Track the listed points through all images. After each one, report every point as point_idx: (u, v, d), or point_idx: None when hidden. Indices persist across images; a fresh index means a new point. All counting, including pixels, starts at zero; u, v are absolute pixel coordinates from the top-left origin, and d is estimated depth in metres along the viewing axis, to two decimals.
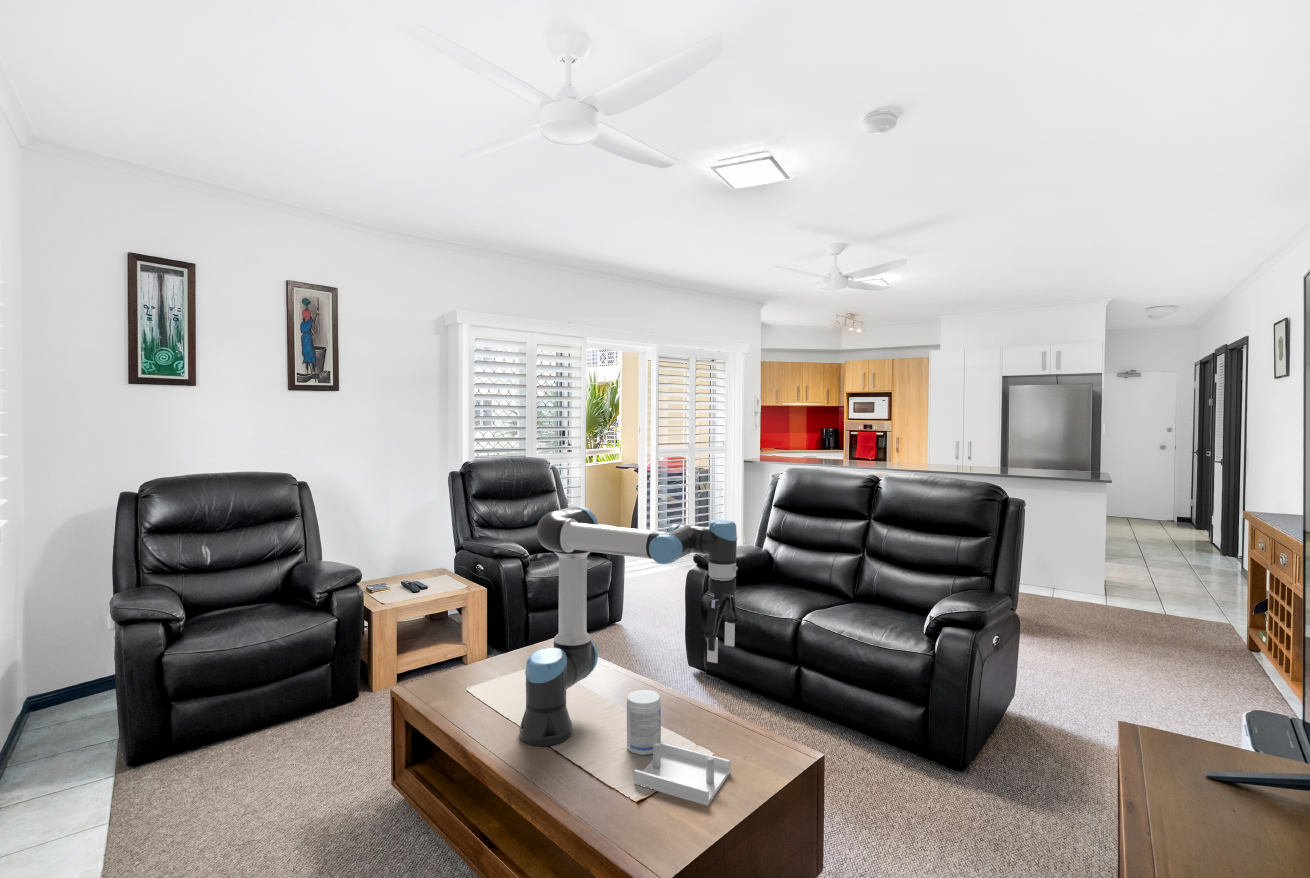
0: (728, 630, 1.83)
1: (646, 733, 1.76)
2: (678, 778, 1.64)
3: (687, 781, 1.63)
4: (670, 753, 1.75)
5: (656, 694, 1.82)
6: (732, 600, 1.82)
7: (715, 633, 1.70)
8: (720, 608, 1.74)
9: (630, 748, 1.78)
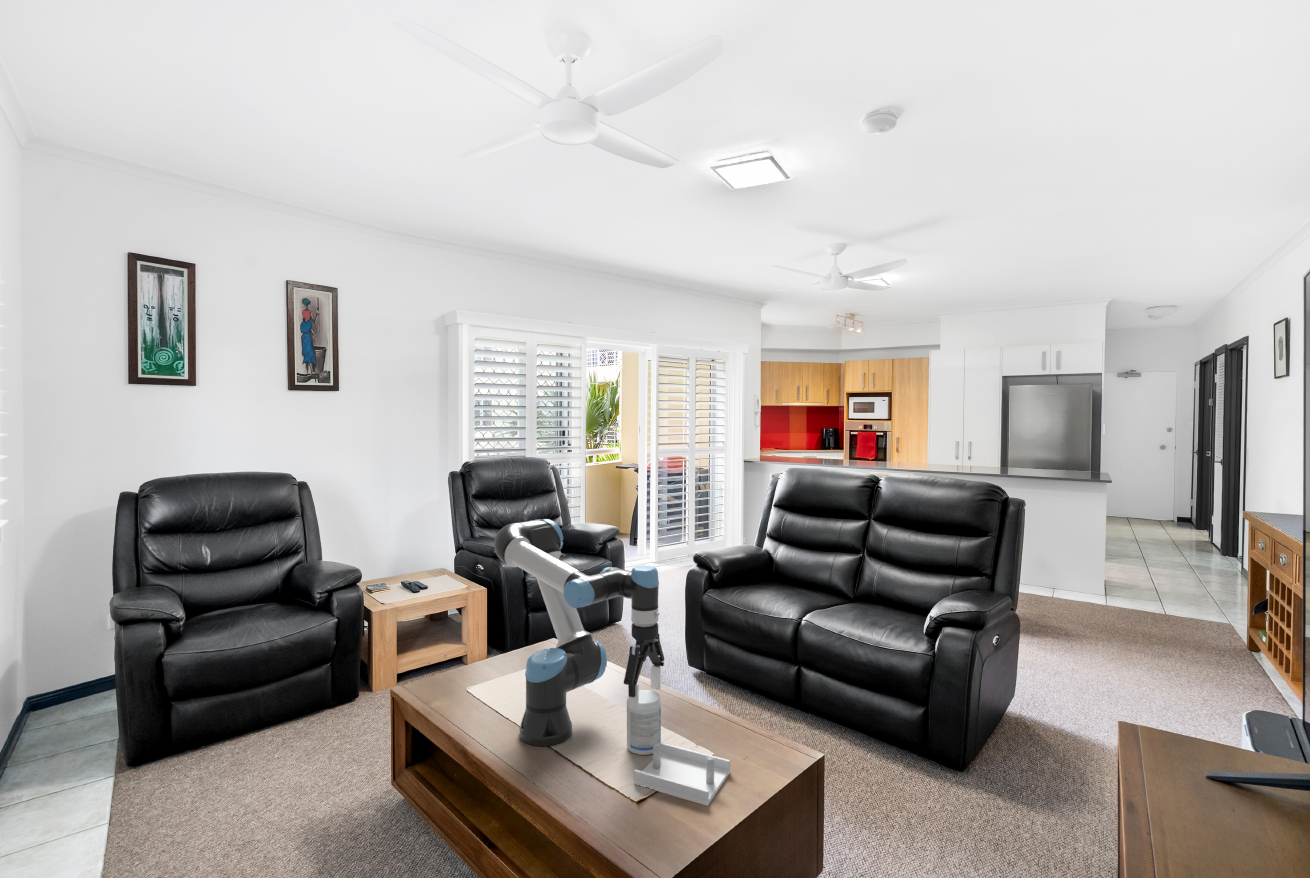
0: (654, 673, 1.86)
1: (646, 733, 1.76)
2: (678, 778, 1.64)
3: (687, 781, 1.63)
4: (670, 753, 1.75)
5: (656, 694, 1.82)
6: (657, 644, 1.85)
7: (635, 679, 1.73)
8: (642, 654, 1.77)
9: (630, 748, 1.78)
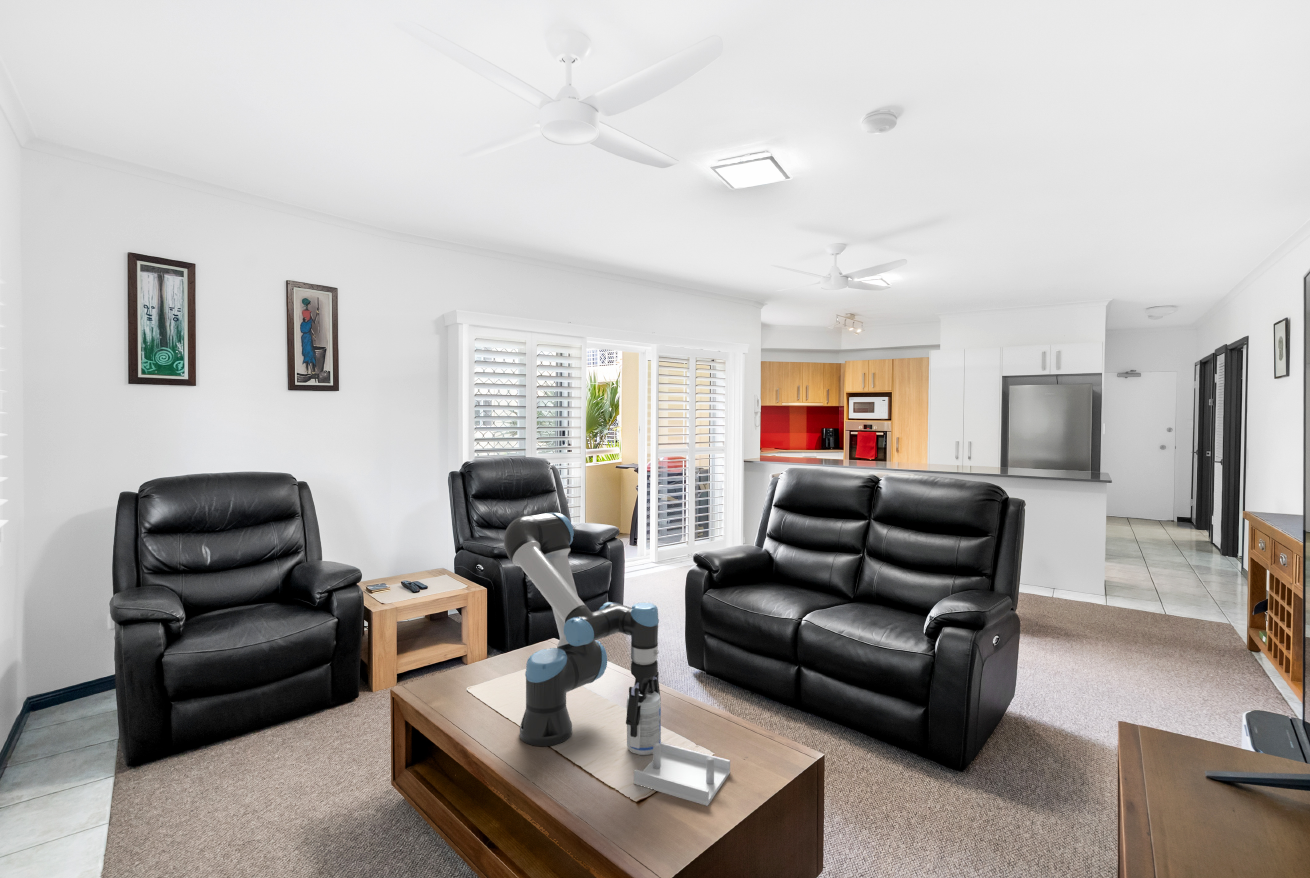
0: None
1: (646, 733, 1.76)
2: (678, 778, 1.64)
3: (687, 781, 1.63)
4: (670, 753, 1.75)
5: (656, 694, 1.82)
6: (655, 683, 1.85)
7: (637, 720, 1.75)
8: (642, 692, 1.78)
9: (630, 748, 1.78)
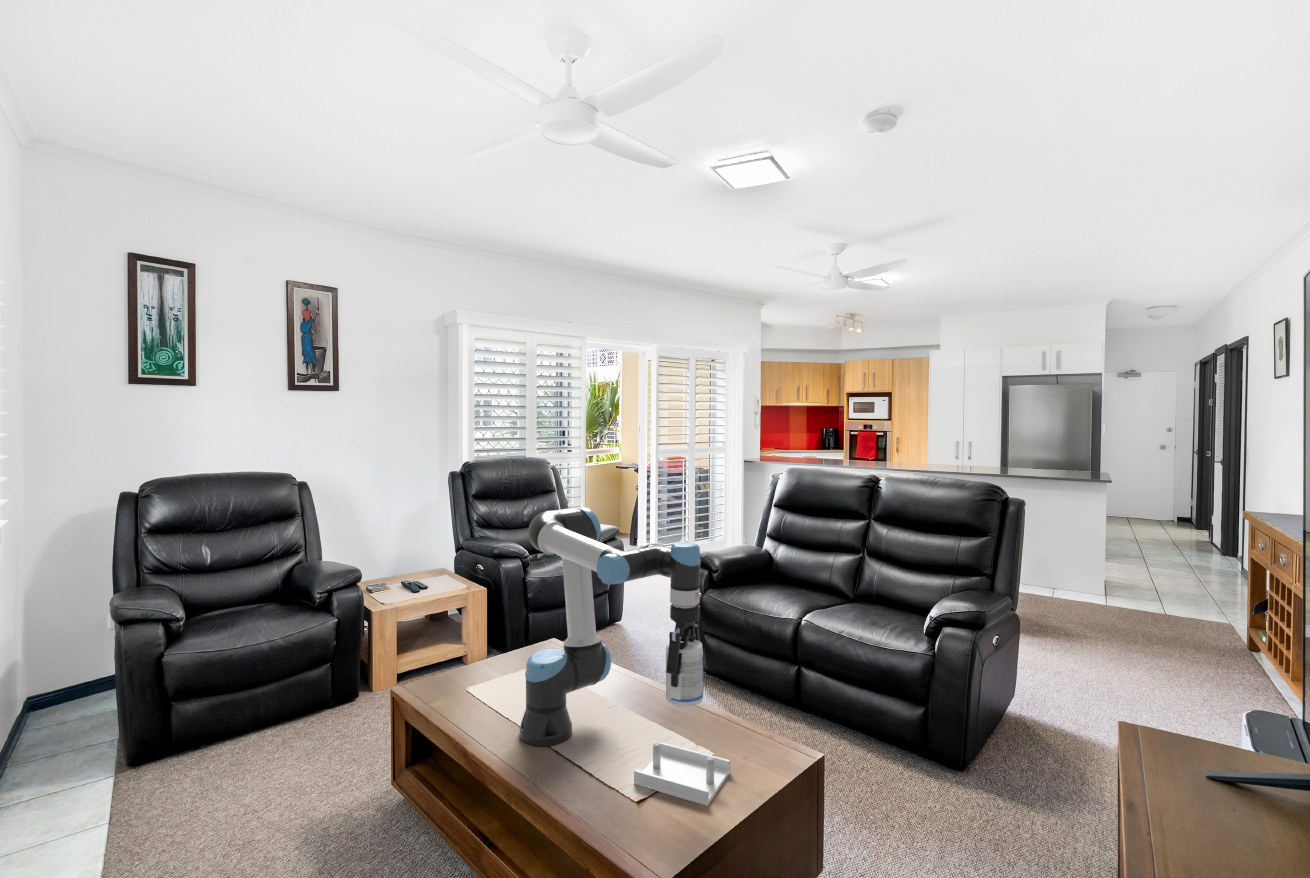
0: None
1: (688, 683, 1.60)
2: (678, 778, 1.64)
3: (687, 781, 1.63)
4: (670, 753, 1.75)
5: (698, 642, 1.66)
6: (696, 631, 1.69)
7: (678, 668, 1.59)
8: (682, 639, 1.62)
9: (670, 700, 1.62)
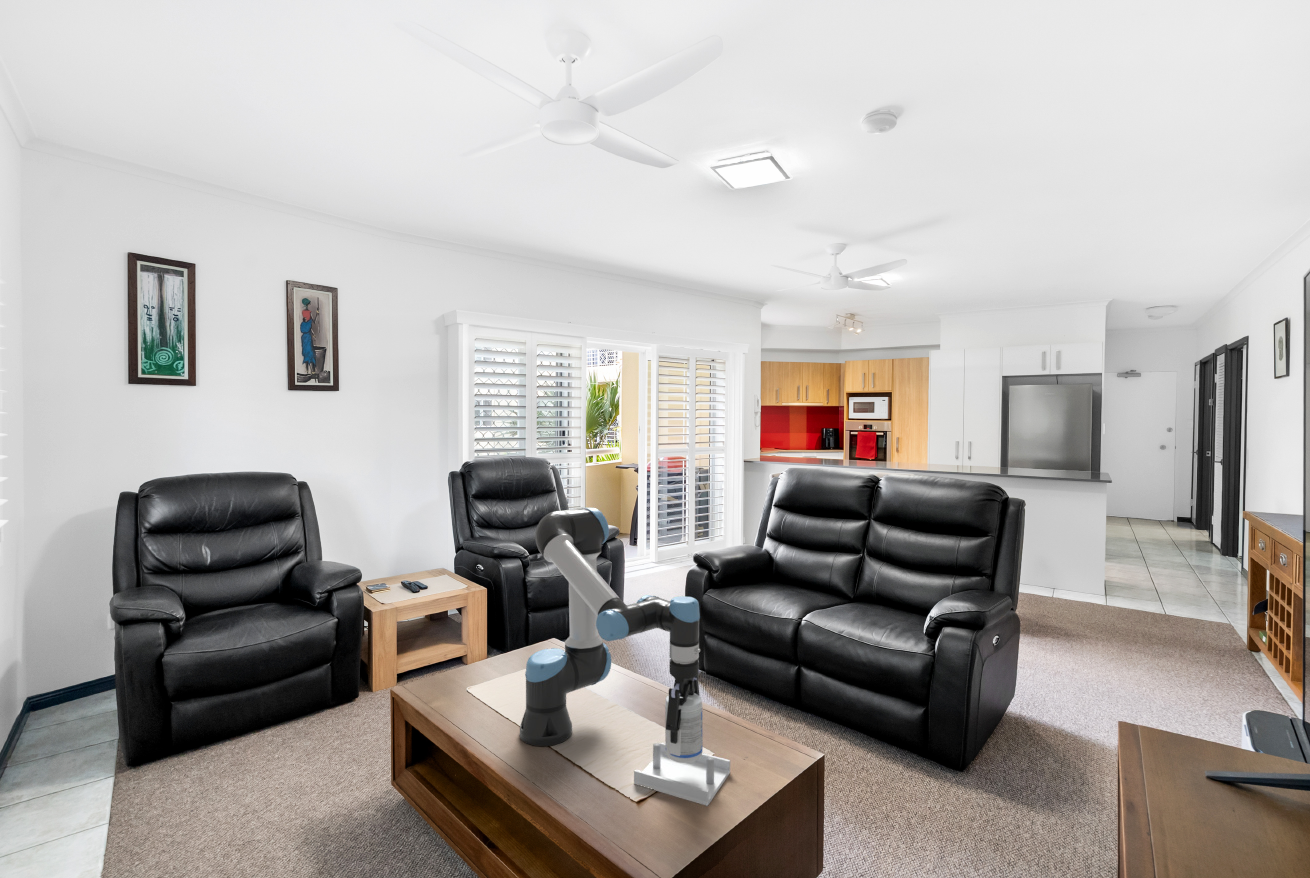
0: None
1: (688, 739, 1.61)
2: (678, 778, 1.64)
3: (687, 781, 1.63)
4: None
5: (697, 696, 1.67)
6: (695, 684, 1.70)
7: (677, 725, 1.59)
8: (682, 694, 1.62)
9: (670, 755, 1.63)
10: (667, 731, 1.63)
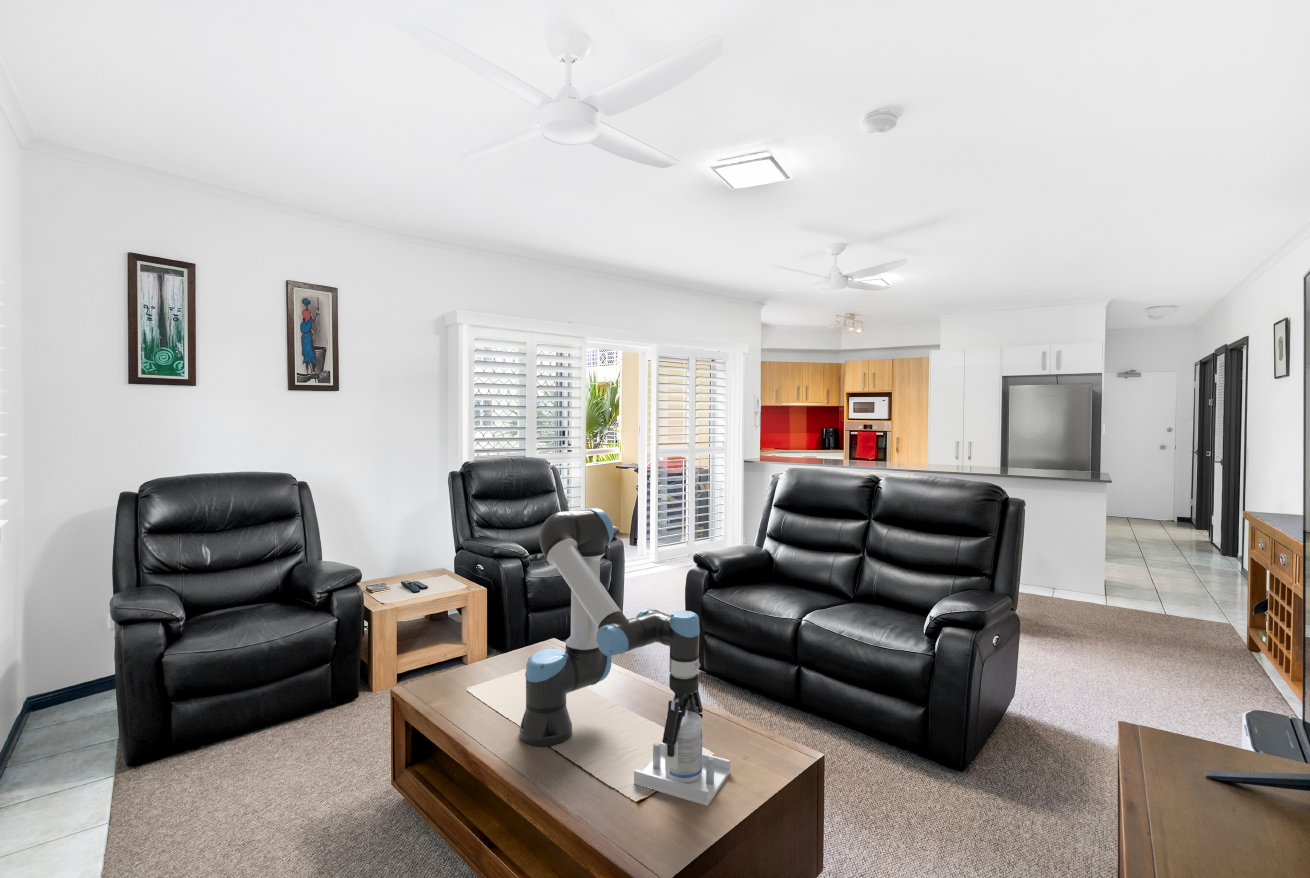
0: None
1: (687, 759, 1.61)
2: None
3: None
4: None
5: (697, 715, 1.67)
6: (696, 695, 1.70)
7: (675, 738, 1.58)
8: (681, 708, 1.62)
9: (669, 775, 1.63)
10: None
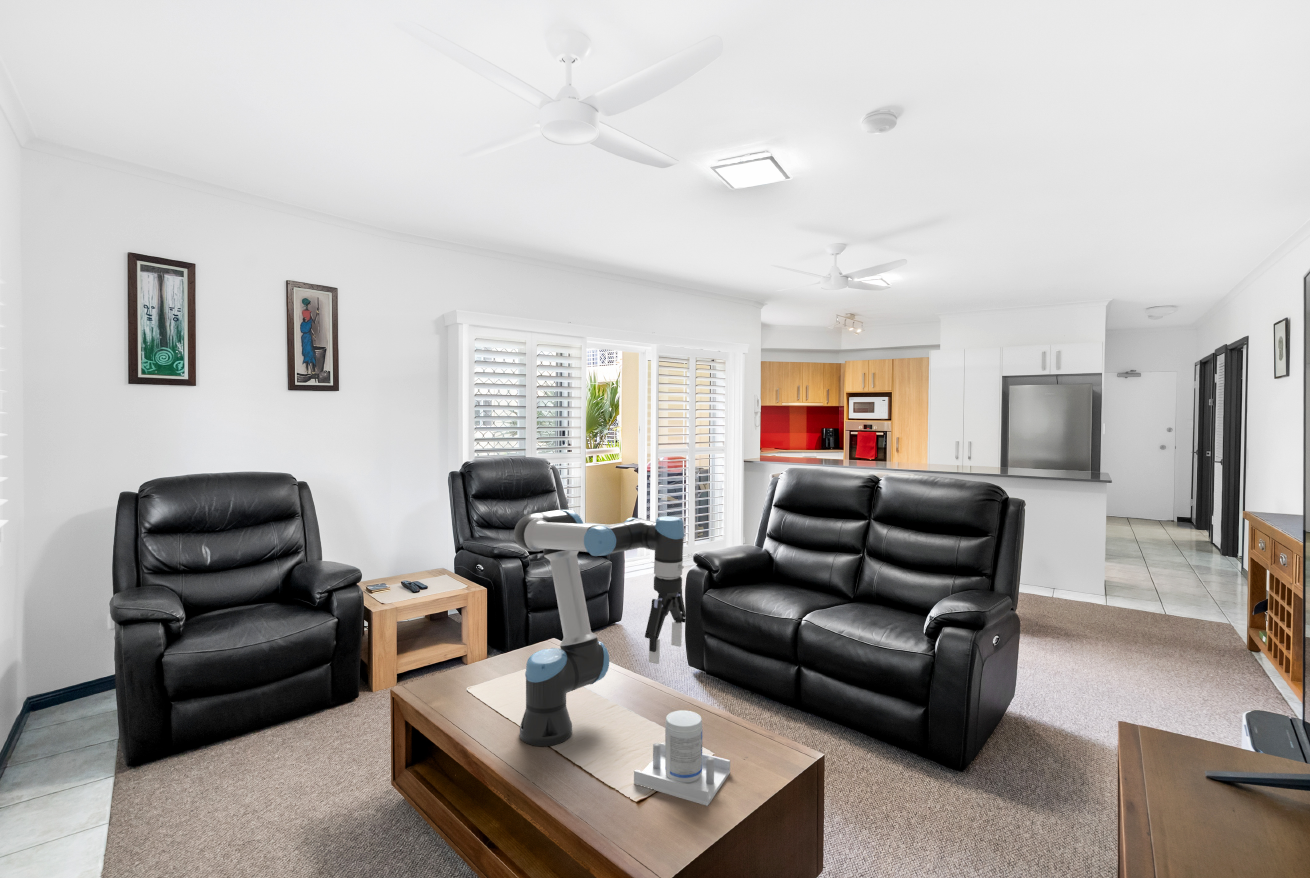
0: (675, 630, 1.78)
1: (688, 759, 1.61)
2: None
3: None
4: None
5: (697, 715, 1.67)
6: (679, 599, 1.77)
7: (657, 633, 1.64)
8: (664, 608, 1.69)
9: (670, 775, 1.63)
10: (667, 751, 1.64)
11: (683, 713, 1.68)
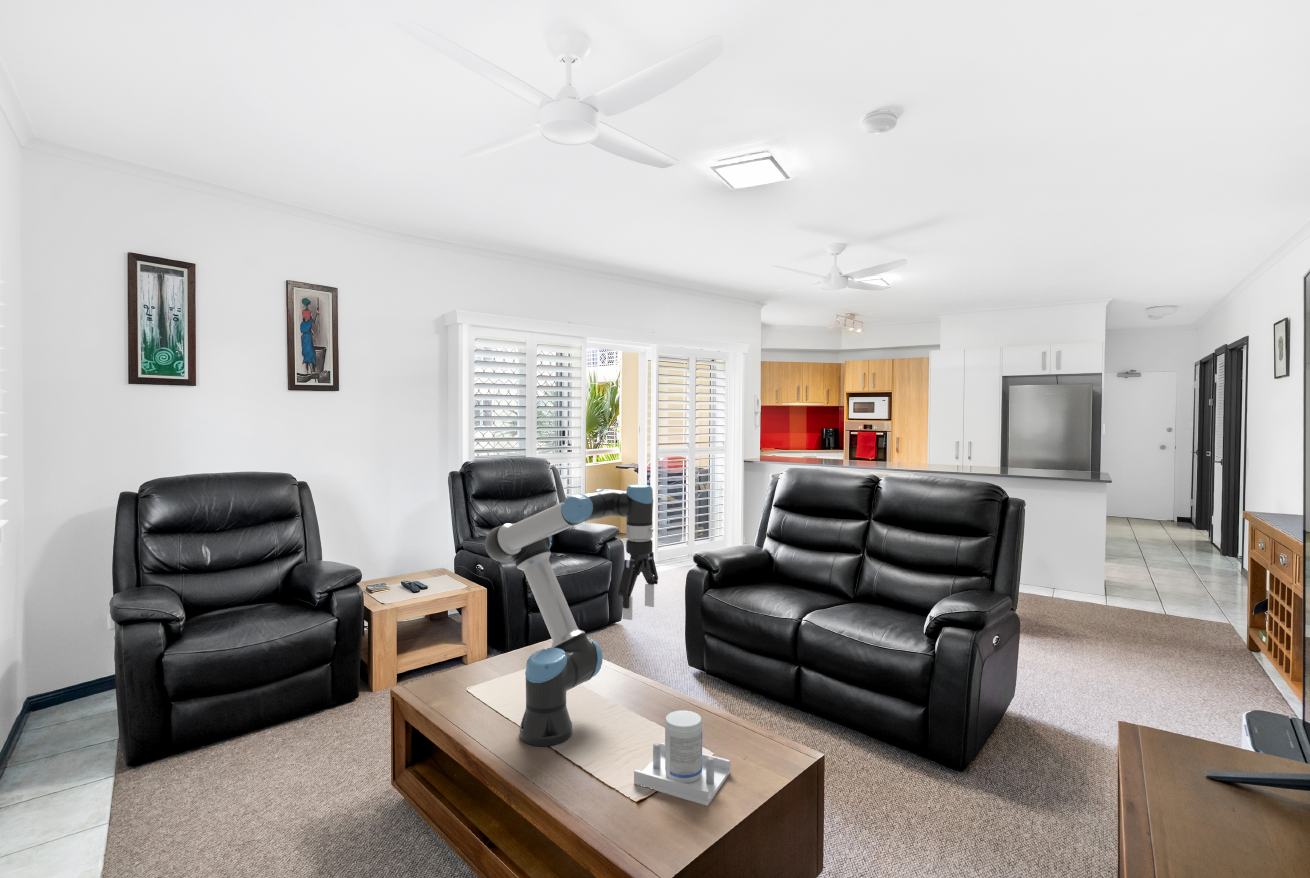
0: (648, 591, 1.91)
1: (688, 759, 1.61)
2: None
3: None
4: None
5: (697, 715, 1.67)
6: (651, 562, 1.90)
7: (629, 591, 1.77)
8: (636, 568, 1.82)
9: (669, 775, 1.63)
10: (667, 751, 1.64)
11: (683, 713, 1.68)
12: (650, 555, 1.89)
